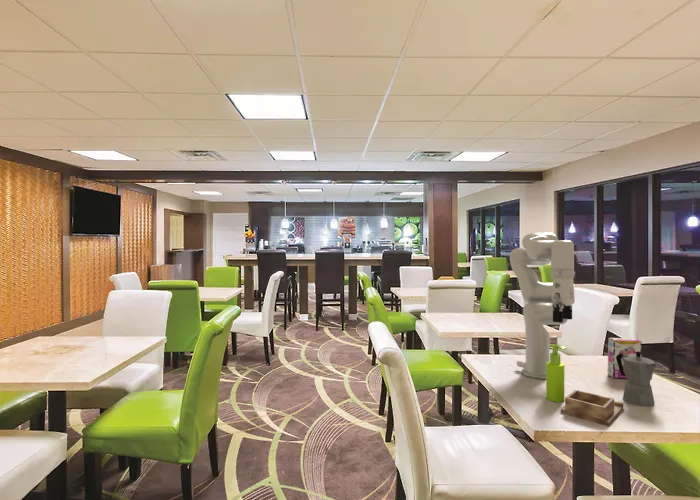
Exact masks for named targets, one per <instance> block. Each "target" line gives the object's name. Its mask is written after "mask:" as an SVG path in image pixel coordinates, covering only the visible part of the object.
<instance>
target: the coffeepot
mask: <svg viewBox="0 0 700 500" xmlns="http://www.w3.org/2000/svg"><path fill="white" fill-rule="evenodd" d="M640 356H641V357H640ZM621 358H622V359H623V363H624V369H625V373H624V372H623V366H622V360H621ZM616 360H617V363H618V367H619V370H620V374H621V375H623V376H626V377H627V379H626V381H625V385H624V389H623V395H622V399H623V400H624V401H625V402H627V403H629V404H632V405H635V406H638V407H639V406H641V407H653V406H654V404H655V398H654V393H653V389H652V385H651V381H652V379H653V375H654V370H655V369H657V367H658V365H657V363H656V361H654V360H652V359H649V358H646V357H643V356H642V351H641V352H639V351H637V352H636V356H629V355H626V354H623V353H619V354H618V355H617V356H616Z"/></svg>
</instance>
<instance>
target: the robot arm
mask: <svg viewBox="0 0 700 500" xmlns="http://www.w3.org/2000/svg"><path fill="white" fill-rule="evenodd" d="M521 244H522V247H518V248H514V249H512V250H511V252H510V253H509V263H510V267H511V269H512V272H513V273H514V275H515V276H516V278H517V280H518V284H519V288H520V293H521V295H522V299H523V300H524V302H525V303H526V304H525V305H523V307H522V308H523V309H522V310H523V311H522V313H523V314H522V315H523V320H524V329H525V330H524V332H525V361H519V360H517V361H516V366H517V367H519V368H522V369H521V373H522V375H524V376H525V377H529V378H533V379H538V380H546V362H549V361H550V353H551V352H550V351H551V350H550V348H551V346H550V345H551V344H550V333H549V332H548V330H547V329H546V328H545V327H544V326H545V325H546V326H547V325H553V326H554V325H559V326H560V325H565V324H566V323H567V322H568V320H569V321H570V320H573V305H574V304H575V302H576V300H575V299H576V298H575V285H574V279H575V245H574V242H573V241H572V240H567V239H564V240H559V238H558V236H557V235H556V234H555V233H553V232H530V233H527V234H525V235H524V237H523V238H522V239H521ZM548 264H550V278H551V279H552V282H542V281H540V279H539V277H538V276H539V275H538V274H537V273H536V272H535V271H534V270H533V269H532V268H531V267H529V266H546V265H547V266H548Z"/></svg>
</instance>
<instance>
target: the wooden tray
mask: <svg viewBox="0 0 700 500" xmlns="http://www.w3.org/2000/svg"><path fill="white" fill-rule="evenodd" d="M623 411H624V403H623V402H620V401H616V400H615V398H613V397H608V396H606V395H605V396H604V395H600V394H595V393H591V392H588V391H582V390H579V389H574V390H573V391H572V392H571V393H569V394H568V395H566V396H564V406H562V407H561V408H560V414H564V415H568V416H571V417H575V418H579V419H582V420H585V421H589V422H594V423H597V424H599V425H604V426H607V427H610V426H611V425H612V423H614V421H615V420H616V419H617V418H618V417H619V415H620V414H621V413H622V412H623Z"/></svg>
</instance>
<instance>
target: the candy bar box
mask: <svg viewBox="0 0 700 500" xmlns="http://www.w3.org/2000/svg"><path fill="white" fill-rule="evenodd" d="M642 342H643V341H641V340H639V339H637V338H633V337H632V338H630V337H629V338H626V337H625V338H624V337H608V338H607V375H608V376H609V377H610V378H613V379H624V380H627V377H626V376H623V375H621V374H620V370H619V367H618V363H617V360H616V356H617V355H618V354H619V353H623V354H626V355H629V356H636V352H637V351H639V352H641V353H642ZM640 357H642V355H641V356H640ZM621 360H622V366H623V372H624V373H625V369H624V363H623V359H622V358H621Z"/></svg>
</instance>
